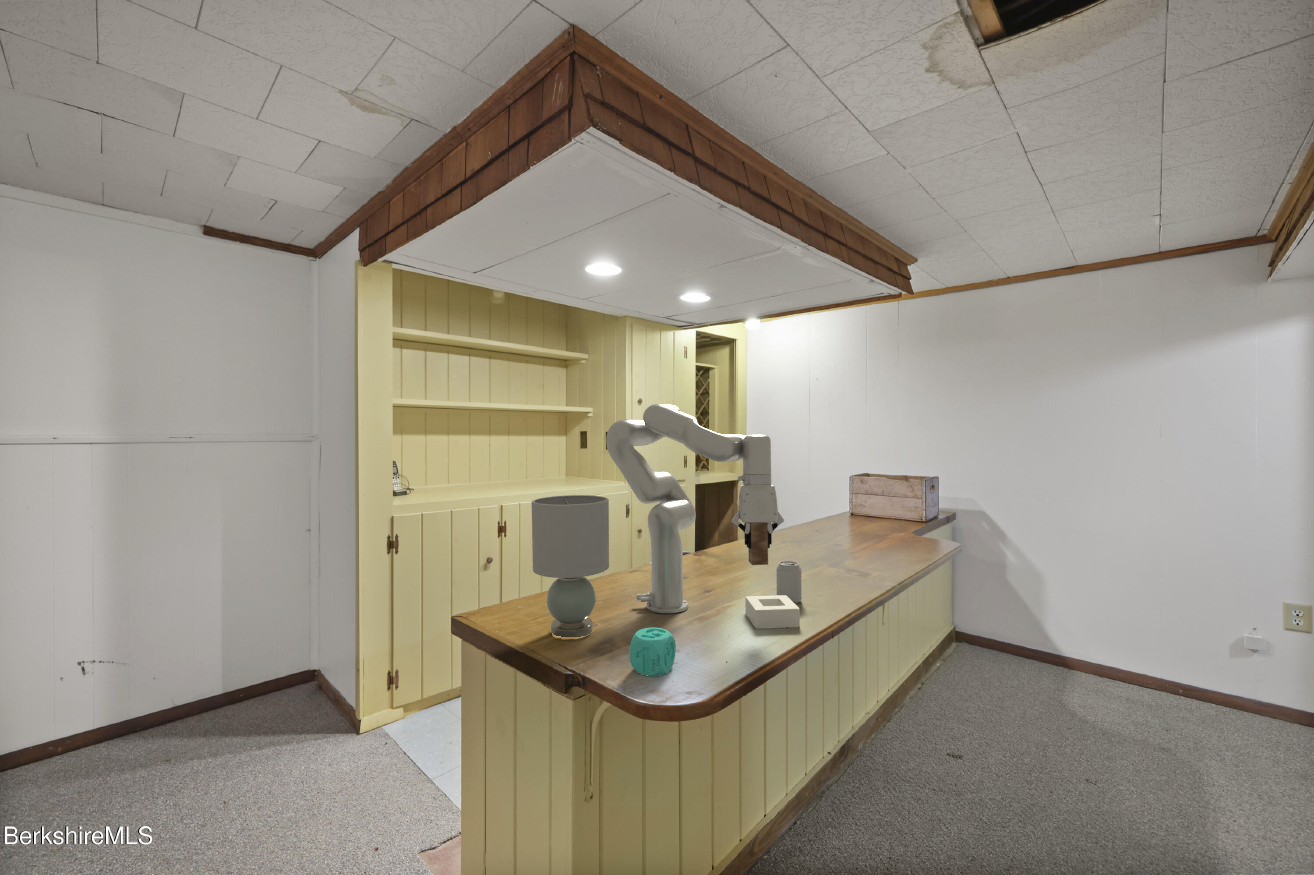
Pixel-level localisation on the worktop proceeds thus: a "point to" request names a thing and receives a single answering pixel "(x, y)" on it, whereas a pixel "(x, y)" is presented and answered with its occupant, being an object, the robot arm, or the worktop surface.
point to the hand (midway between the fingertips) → (758, 546)
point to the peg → (759, 544)
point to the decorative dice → (652, 651)
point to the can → (789, 580)
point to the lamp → (570, 556)
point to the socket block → (772, 611)
